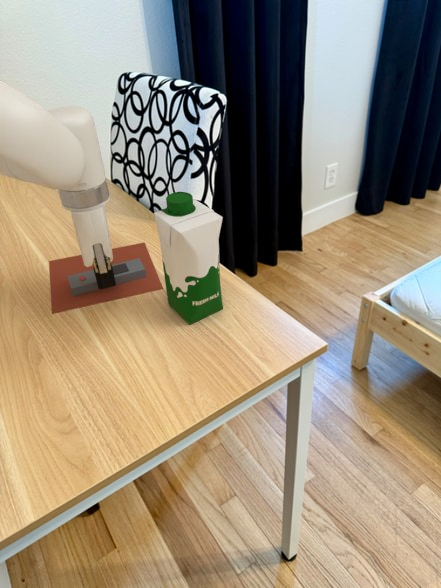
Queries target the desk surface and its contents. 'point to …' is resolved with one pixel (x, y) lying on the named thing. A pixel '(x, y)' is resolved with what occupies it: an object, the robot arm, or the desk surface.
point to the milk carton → (190, 256)
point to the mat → (74, 265)
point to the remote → (121, 273)
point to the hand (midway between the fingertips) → (107, 285)
